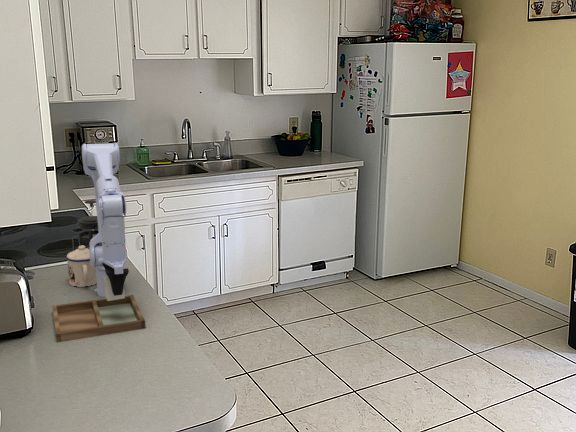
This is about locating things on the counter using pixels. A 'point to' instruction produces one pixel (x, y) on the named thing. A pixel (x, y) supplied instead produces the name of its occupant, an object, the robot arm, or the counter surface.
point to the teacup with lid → (81, 268)
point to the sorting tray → (96, 318)
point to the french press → (87, 226)
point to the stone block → (109, 292)
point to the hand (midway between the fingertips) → (116, 291)
